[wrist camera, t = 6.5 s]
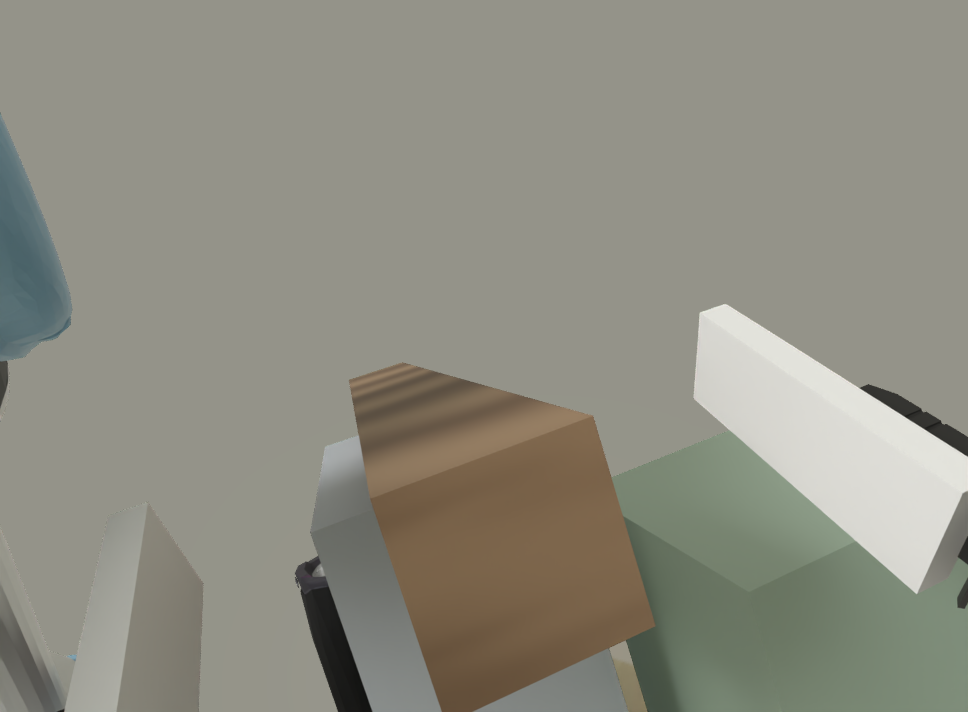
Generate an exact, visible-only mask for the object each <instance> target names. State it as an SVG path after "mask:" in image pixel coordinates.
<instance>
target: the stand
mask: <svg viewBox="0 0 968 712" xmlns="http://www.w3.org/2000/svg"><path fill="white" fill-rule="evenodd" d="M310 533H311V536H312V539H313V542H314V545H315V548H316V550H317V554H318V556H319V559H320V562H321V565H322V568H323V571H324V574H325V577H326V579H327V582H328V585H329V588H330V591H331V594H332V597H333V600H334V602H335V605H336V608H337V611H338V614H339V617H340V620H341V623H342V625H343V628H344V631H345V634H346V637H347V640H348V643H349V646H350V648H351V651H352V654H353V657H354V660H355V663H356V666H357V668H358V671H359V674H360V677H361V680H362V683H363V686H364V689H365V691H366V694H367V697H368V700H369V703H370V706H371V709H372V712H442V711H441V708H440V705H439V702H438V699H437V696H436V693H435V690H434V687H433V684H432V681H431V678H430V675H429V672H428V670H427V667H426V664H425V661H424V658H423V655H422V652H421V649H420V646H419V643H418V640H417V637H416V634H415V631H414V628H413V625H412V622H411V619H410V616H409V613H408V610H407V607H406V604H405V601H404V598H403V595H402V592H401V589H400V586H399V583H398V580H397V577H396V574H395V572H394V569H393V566H392V563H391V560H390V557H389V554H388V551H387V548H386V545H385V542H384V539H383V536H382V533H381V530H380V527H379V524H378V521H377V518H376V515H375V512H374V509H373V506H372V503H371V500H370V496H369V490H368V485H367V479H366V473H365V468H364V462H363V456H362V451H361V445H360V439H359V435H358V436H355V437H352V438H349V439H346V440H344V441H341V442H338V443H335V444H332V445H329V446H326V447H325V452H324V457H323V463H322V469H321V474H320V481H319V486H318V492H317V497H316V503H315V509H314V514H313V520H312V526H311V532H310ZM473 712H628V709H627V706H626V702H625V699H624V696H623V692H622V689H621V686H620V683H619V679H618V676H617V673H616V670H615V666H614V663H613V660H612V657H611V653H610V650H609V648H608V649H606V650H604V651H601V652H599V653H597V654H595V655H593V656H591V657H589V658H586V659H584V660H582V661H580V662H578V663H576V664H574V665H572V666H569V667H567V668H565V669H563V670H561V671H559V672H557V673H554V674H552V675H550V676H548V677H546V678H544V679H542V680H540V681H537V682H535V683H533V684H531V685H529V686H527V687H525V688H522V689H520V690H518V691H516V692H514V693H512V694H510V695H508V696H505V697H503V698H501V699H499V700H497V701H495V702H493V703H490V704H488V705H486V706H484V707H482V708H480V709H478V710H476V711H473Z"/></svg>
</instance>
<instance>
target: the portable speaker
mask: <svg viewBox="0 0 968 712" xmlns="http://www.w3.org/2000/svg"><path fill="white" fill-rule="evenodd" d="M295 574H296V577H297V579H298V580H297V579H295V580H296V584H297V586H298V582H299V584H300V586H301V595H302V599H303V603H304V607H305V611H306V615H307V619H308V623H309V627H310V630H311V634H312V638H313V641H314V644H315V647H316V649H317V652H318V655H319V658H320V661H321V664H322V667H323V669H324V673H325V675H326V678H327V681H328V684H329V687H330V690H331V693H332V696H333V698H334V701H335V704H336V707H337V710H338V712H372V709H371V706H370V703H369V700H368V697H367V694H366V691H365V689H364V686H363V683H362V680H361V677H360V674H359V671H358V668H357V666H356V663H355V660H354V657H353V654H352V651H351V648H350V646H349V643H348V640H347V637H346V634H345V631H344V628H343V625H342V623H341V620H340V617H339V614H338V611H337V608H336V605H335V602H334V600H333V597H332V594H331V591H330V588H329V585H328V582H327V579H326V577H325V574H324V571H323V568H322V565H321V562H320V559H319V556H317V557H316V558H314V559H312V560H310V561H309V562H305V563H303V564H301V565H299V566H298V568H297V570H296V572H295ZM296 577H295V578H296ZM298 588H299V586H298Z"/></svg>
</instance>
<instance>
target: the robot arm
mask: <svg viewBox="0 0 968 712" xmlns="http://www.w3.org/2000/svg"><path fill="white" fill-rule="evenodd" d="M71 313H72V304H71V297H70V292H69V288H68V285H67V282H66V279H65V276H64V272H63V269H62V266H61V263H60V260H59V257H58V254H57V251H56V249H55V246H54V243H53V241H52V238H51V235H50V232H49V230H48V227H47V224H46V222H45V219H44V217H43V214H42V212H41V209H40V207H39V204H38V202H37V199H36V196H35V194H34V191H33V189H32V187H31V184H30V181H29V179H28V176H27V174H26V172H25V169H24V167H23V165H22V162H21V160H20V158H19V155H18V153H17V151H16V148H15V146H14V144H13V141H12V139H11V136H10V134H9V132H8V130H7V127H6V125H5V122H4V120H3V118H2V116H1V114H0V421H1V418H2V416H3V414H4V412H5V408H6V404H7V400H8V396H9V368H8V363H7V360H13V359H18V358H23V357H25V356H26V355H27V354H28V353H29V352H30V351H31V350H32V349H33V348H34V347H36V346H37V345H38V344H39V343H41V342H43V341H49V340H53V339H56V338H57V337H58V336H59V335H60V334H61V333H62V332H63V331H64V330H65V329H67V328H68V327H69V326H70V324H71V319H70V318H71ZM694 399H695V400H696V401H697V402H698V403H700V404H701V405H702V406H703V407H704V408H705V409H706V410H707V411H708V412H710V413H711V414H712V415H713V416H714V417H716V419H718V420H719V421H720V422H721V423H722V424H723V425H725V426H726V427H727V428H728V429H729V430H730V431H731V432H732V433H734V434H735V435H736V436H737V437H738V438H739V439H740V440H741V441H743V442H744V443H745V444H746V445H747V446H748V447H749V448H751V449H752V450H753V451H754V452H755V453H756V454H757V455H759V456H760V457H761V458H762V459H763V460H764V461H765V462H767V463H768V464H769V465H770V466H771V467H772V468H773V469H775V470H776V471H777V472H778V473H779V474H780V475H781V476H782V477H784V478H785V479H786V480H787V481H788V482H789V483H790V484H792V485H793V486H794V487H795V488H796V489H797V490H798V491H800V492H801V493H802V494H803V495H804V496H805V497H806V498H808V499H809V500H810V501H811V502H812V503H813V504H814V505H816V506H817V507H818V508H819V509H820V510H821V511H822V512H823V513H825V514H826V515H827V516H828V517H829V518H830V519H831V520H833V521H834V522H835V523H836V524H837V525H838V526H839V527H841V528H842V529H843V530H844V531H845V532H846V533H847V534H849V535H850V536H851V537H852V538H853V539H854V540H855V541H857V542H858V543H859V544H860V545H861V546H862V547H863V548H864V549H866V550H867V551H868V552H869V553H870V554H871V555H872V556H874V557H875V558H876V559H877V560H878V561H879V562H880V563H882V564H883V565H884V566H885V567H886V568H887V569H888V570H890V571H891V572H892V573H893V574H894V575H895V576H896V577H898V578H899V579H900V580H901V581H902V582H903V583H904V584H905V585H907V586H908V587H909V588H910V589H911V590H912V591H913V592H915V593H916V594H918V593H920V592H922V591H924V590H926V589H928V588H930V587H932V586H934V585H936V584H938V583H940V582H942V581H944V580H946V579H948V578H949V576H950V574H951V571H952V569H953V567H954V565H955V563H956V561H957V559H958V558H960V559H961V560H962V561H964V562H965V563H966V564H967V565H968V437H967V436H965V435H964V434H962V433H961V432H959V431H957V430H956V429H954V428H952V427H951V426H949V425H947V424H945V425H944V424H942V423H941V420H939V419H937V418H936V417H934V416H932V415H931V414H929V413H927V412H922V410H921V408H919V407H918V406H916V405H914V404H913V403H911V402H909V401H908V400H906V399H904V398H903V397H901V396H899V395H898V394H895V393H892V392H889V391H886V390H884V389H881V388H878V387H875V386H872V385H869V384H868V385H866V386H863V387H861V388H858V387H856V386H855V385H853V384H852V383H850V382H849V381H847V380H845V379H843V378H842V377H840V376H839V375H837V374H836V373H834V372H833V371H831V370H830V369H828V368H826V367H825V366H823V365H822V364H820V363H818V362H817V361H815V360H814V359H812V358H811V357H809V356H807V355H806V354H804V353H803V352H801V351H800V350H798V349H796V348H795V347H793V346H792V345H790V344H788V343H787V342H785V341H784V340H782V339H781V338H779V337H777V336H776V335H774V334H773V333H771V332H769V331H768V330H766V329H765V328H763V327H762V326H760V325H758V324H757V323H755V322H754V321H752V320H751V319H749V318H747V317H746V316H744V315H743V314H741V313H739V312H738V311H736V310H735V309H733V308H732V307H730V306H728V305H727V304H724V305H721V306H719V307H715V308H712V309H710V310H706V311H704V312H701V313H700V318H699V333H698V345H697V359H696V372H695V386H694ZM967 604H968V578H967V580H966V582H965V584H964V585H963V587H962V589H961V591H960V593H959V595H958V597H957V608H962V609H965V607H966V605H967ZM202 606H203V582H202V581H201V579H200V578H199V576H198V575H197V573H196V572H195V570H194V569H193V568H192V566H191V565H190V563H189V562H188V560H187V559H186V557H185V556H184V554H183V553H182V551H181V550H180V548H179V547H178V545H177V544H176V543H175V541H174V539H173V538H172V537H171V535H170V534H169V532H168V531H167V529H166V528H165V526H164V525H163V524H162V522H161V520H160V519H159V517H158V516H157V515H156V513H155V512H154V510H153V509H152V507H151V506H150V504H149V503H148V502H147V503H144V504H141V505H138V506H135V507H132V508H129V509H126V510H124V511H120V512H117V513H115V514H111V515H109V516H108V517H107V522H106V526H105V531H104V535H103V540H102V545H101V549H100V553H99V558H98V562H97V567H96V571H95V576H94V580H93V585H92V589H91V594H90V599H89V603H88V607H87V612H86V617H85V621H84V625H83V630H82V634H81V639H80V644H79V648H78V652H77V655H70V656H67V657H66V656H64V655H61V654H58V653H54V652H50V651H49V649H48V647H47V644H46V642H45V639H44V637H43V634H42V631H41V629H40V626H39V624H38V621H37V619H36V616H35V613H34V611H33V609H32V606H31V603H30V601H29V598H28V596H27V593H26V590H25V588H24V585H23V583H22V580H21V578H20V575H19V573H18V570H17V568H16V565H15V562H14V560H13V557H12V555H11V552H10V549H9V547H8V544H7V542H6V539H5V537H4V534H3V531H2V529H1V526H0V712H199V684H200V659H201V633H202Z"/></svg>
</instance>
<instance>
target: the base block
mask: <svg viewBox="0 0 968 712" xmlns="http://www.w3.org/2000/svg"><path fill="white" fill-rule="evenodd" d="M612 481H613V484H614V488H615V491H616V495H617V498H618V501H619V505H620V508H621V511H622V515H623V518H624V521H625V525H626V528H627V531H628V535H629V538H630V542H631V545H632V548H633V552H634V555H635V558H636V562H637V565H638V568H639V572H640V575H641V578H642V582H643V585H644V588H645V592H646V595H647V599H648V602H649V605H650V609H651V612H652V615H653V619H654V622H655V625H656V626H655V627H653V628H650V629H648V630H646V631H644V632H642V633H640V634H638V635H636V636H633V637H631V638H629V639H627V640H626V642H627V645H628V648H629V651H630V655H631V658H632V661H633V665H634V668H635V671H636V675H637V678H638V681H639V684H640V688H641V691H642V694H643V698H644V701H645V704H646V707H647V711H648V712H968V604H967V605H966V607H965V609H962V608H957V597H958V595H959V593H960V591H961V589H962V587H963V585H964V584H965V582H966V580H967V578H968V565H967V564H966V563H965V562H964V561H962V560H961V559H960V558H958V559H957V561H956V563H955V565H954V567H953V569H952V571H951V574H950V576H949V578H948V579H946V580H944V581H942V582H940V583H938V584H936V585H934V586H932V587H930V588H928V589H926V590H924V591H922V592H920V593H918V594H916V593H915V592H913V591H912V590H911V589H910V588H909V587H908V586H907V585H905V584H904V583H903V582H902V581H901V580H900V579H899V578H898V577H896V576H895V575H894V574H893V573H892V572H891V571H890V570H888V569H887V568H886V567H885V566H884V565H883V564H882V563H880V562H879V561H878V560H877V559H876V558H875V557H874V556H872V555H871V554H870V553H869V552H868V551H867V550H866V549H864V548H863V547H862V546H861V545H860V544H859V543H858V542H857V541H855V540H854V539H853V538H852V537H851V536H850V535H849V534H847V533H846V532H845V531H844V530H843V529H842V528H841V527H839V526H838V525H837V524H836V523H835V522H834V521H833V520H831V519H830V518H829V517H828V516H827V515H826V514H825V513H823V512H822V511H821V510H820V509H819V508H818V507H817V506H816V505H814V504H813V503H812V502H811V501H810V500H809V499H808V498H806V497H805V496H804V495H803V494H802V493H801V492H800V491H798V490H797V489H796V488H795V487H794V486H793V485H792V484H790V483H789V482H788V481H787V480H786V479H785V478H784V477H782V476H781V475H780V474H779V473H778V472H777V471H776V470H775V469H773V468H772V467H771V466H770V465H769V464H768V463H767V462H765V461H764V460H763V459H762V458H761V457H760V456H759V455H757V454H756V453H755V452H754V451H753V450H752V449H751V448H749V447H748V446H747V445H746V444H745V443H744V442H743V441H741V440H740V439H739V438H738V437H737V436H736V435H735V434H734V433H732V432H731V431H730V430H729V431H727V432H724V433H722V434H719V435H717V436H714V437H712V438H709V439H707V440H704V441H702V442H699V443H697V444H694V445H692V446H689V447H687V448H684V449H682V450H679V451H677V452H674V453H672V454H669V455H667V456H664V457H662V458H660V459H657V460H654V461H652V462H649V463H647V464H644V465H642V466H639V467H637V468H634V469H632V470H629V471H627V472H624V473H622V474H619V475H617V476H614V477H612Z"/></svg>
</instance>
